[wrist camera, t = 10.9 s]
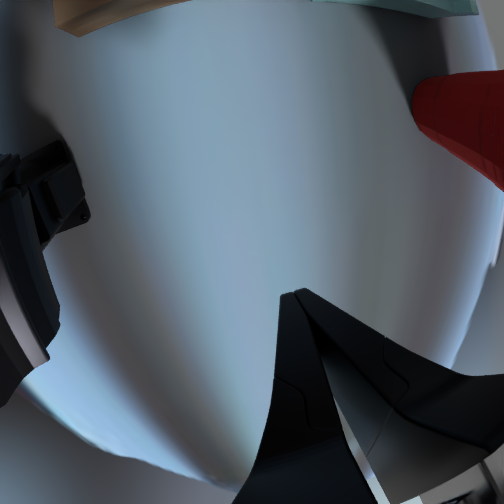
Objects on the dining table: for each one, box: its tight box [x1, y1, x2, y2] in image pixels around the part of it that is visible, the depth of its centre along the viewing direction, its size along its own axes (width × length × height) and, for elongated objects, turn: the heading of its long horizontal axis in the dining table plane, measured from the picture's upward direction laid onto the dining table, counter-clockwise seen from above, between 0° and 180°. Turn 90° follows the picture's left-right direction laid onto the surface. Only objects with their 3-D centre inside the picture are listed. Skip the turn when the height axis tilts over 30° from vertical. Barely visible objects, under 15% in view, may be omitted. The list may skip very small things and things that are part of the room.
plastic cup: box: [412, 70, 504, 192], centre depth 15 cm, size 11×11×12 cm
